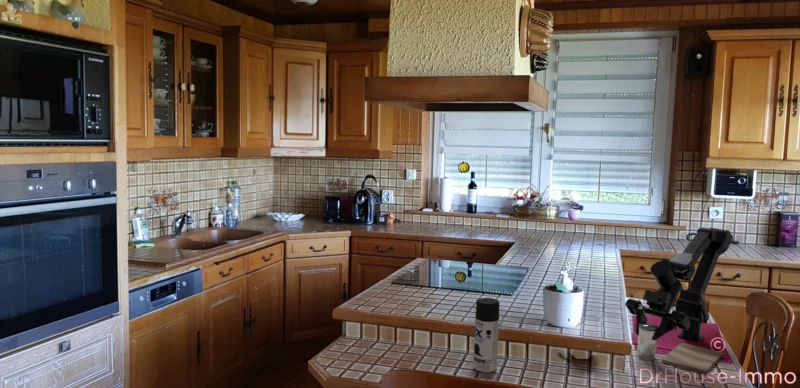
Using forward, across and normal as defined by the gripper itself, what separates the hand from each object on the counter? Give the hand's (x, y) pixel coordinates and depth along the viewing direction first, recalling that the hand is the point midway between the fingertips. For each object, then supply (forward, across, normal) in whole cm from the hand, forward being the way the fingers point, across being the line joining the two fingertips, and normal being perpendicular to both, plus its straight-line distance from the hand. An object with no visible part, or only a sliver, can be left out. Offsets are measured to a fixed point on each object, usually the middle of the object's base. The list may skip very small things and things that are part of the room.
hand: (645, 336), depth 183 cm
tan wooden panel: (-3, +10, +13) cm, 16 cm away
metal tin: (+4, 0, +6) cm, 7 cm away
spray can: (+36, -23, -26) cm, 51 cm away
